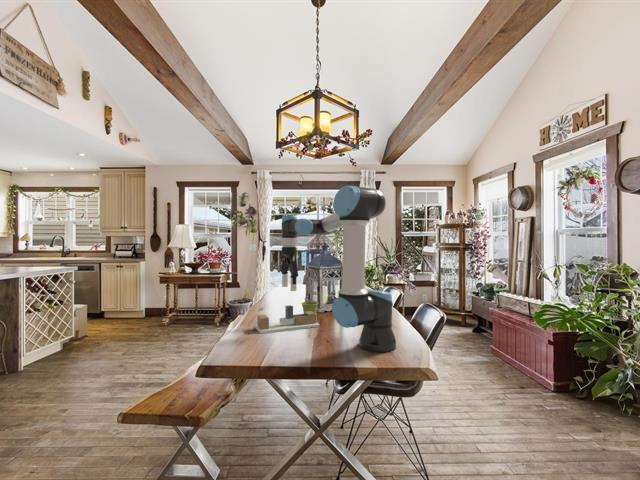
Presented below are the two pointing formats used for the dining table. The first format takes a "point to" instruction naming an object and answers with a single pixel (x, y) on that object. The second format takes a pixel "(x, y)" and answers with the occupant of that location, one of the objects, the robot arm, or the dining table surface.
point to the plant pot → (309, 306)
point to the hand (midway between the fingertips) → (289, 288)
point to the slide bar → (288, 316)
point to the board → (300, 322)
